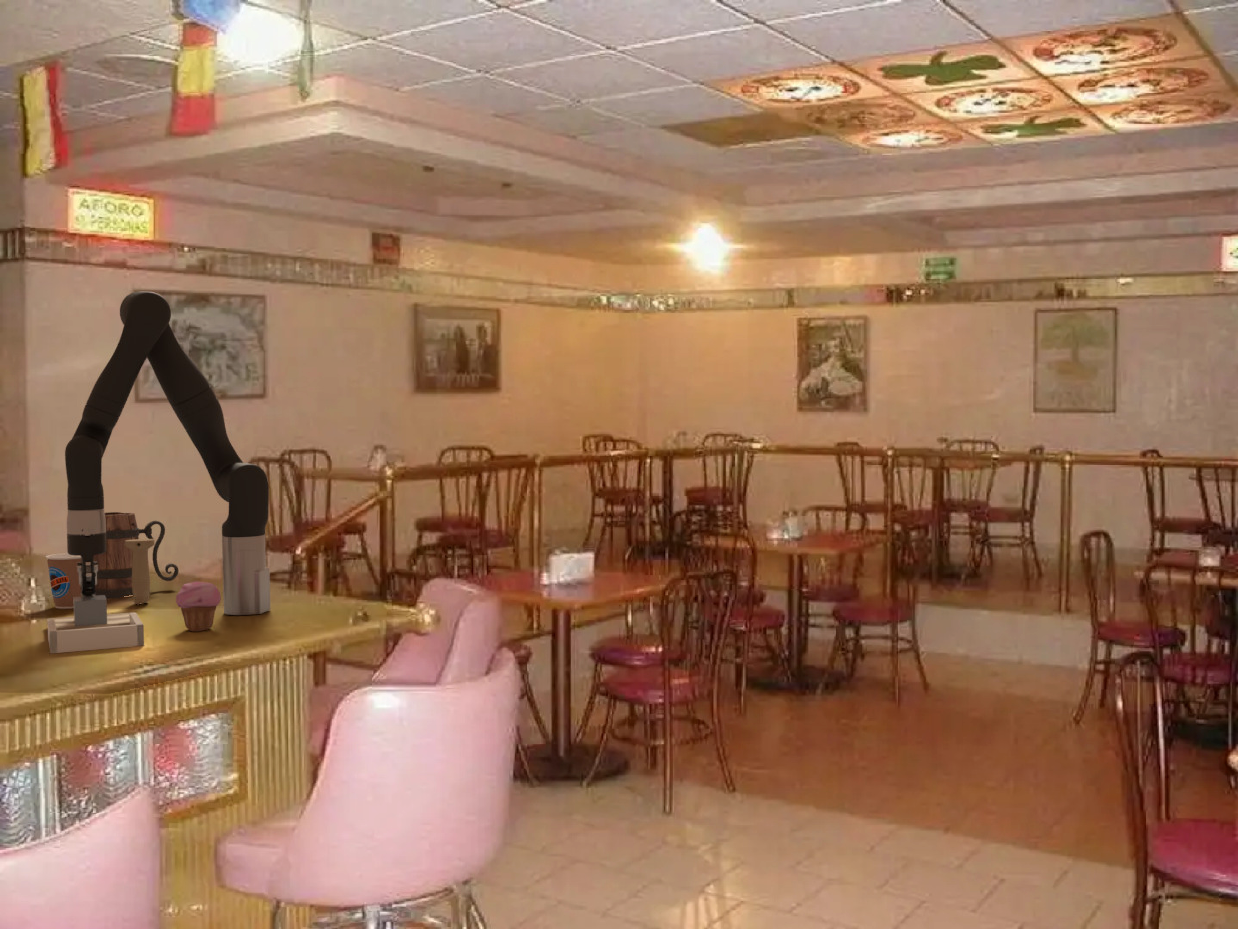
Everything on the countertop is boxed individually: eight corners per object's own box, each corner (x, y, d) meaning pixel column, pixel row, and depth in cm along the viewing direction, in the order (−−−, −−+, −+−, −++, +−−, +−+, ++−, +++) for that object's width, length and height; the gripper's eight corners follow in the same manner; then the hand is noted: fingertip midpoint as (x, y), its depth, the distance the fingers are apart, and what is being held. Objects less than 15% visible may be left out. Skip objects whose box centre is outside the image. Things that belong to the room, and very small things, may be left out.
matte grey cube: (73, 621, 261) (73, 597, 261) (105, 619, 264) (104, 595, 264) (74, 626, 255) (74, 601, 255) (107, 623, 257) (106, 599, 257)
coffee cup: (37, 608, 294) (36, 556, 293) (77, 601, 302) (75, 551, 302) (65, 611, 288) (63, 558, 288) (105, 604, 297) (103, 553, 296)
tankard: (81, 601, 304) (78, 517, 303) (75, 592, 319) (72, 512, 318) (183, 593, 315) (181, 512, 314) (173, 585, 330) (171, 508, 329)
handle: (155, 604, 296) (153, 540, 296) (125, 606, 295) (123, 541, 294) (157, 601, 301) (155, 538, 300) (128, 603, 299) (126, 539, 299)
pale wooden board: (47, 628, 265) (47, 618, 265) (129, 622, 272) (129, 612, 272) (49, 638, 252) (48, 628, 252) (135, 632, 259) (134, 622, 259)
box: (48, 639, 252) (47, 618, 252) (136, 631, 259) (135, 612, 259) (50, 653, 237) (49, 632, 237) (144, 645, 244) (143, 624, 244)
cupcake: (173, 628, 263) (172, 580, 262) (216, 624, 267) (215, 577, 267) (181, 635, 255) (180, 585, 255) (225, 631, 259) (224, 582, 259)
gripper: (66, 529, 269) (68, 611, 269) (67, 534, 257) (70, 620, 257) (104, 527, 272) (106, 608, 273) (107, 533, 260) (109, 617, 261)
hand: (88, 614), depth 265 cm, fingers closed
